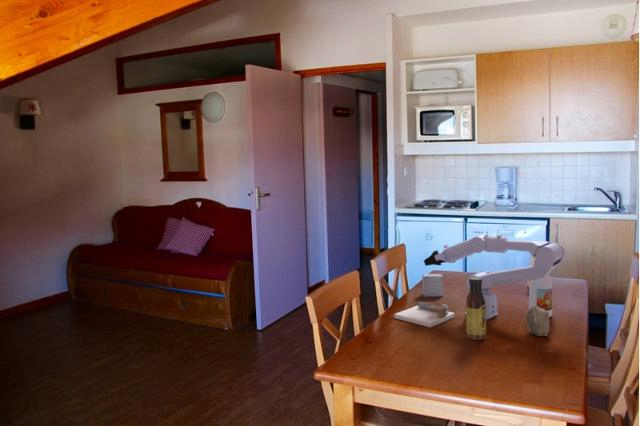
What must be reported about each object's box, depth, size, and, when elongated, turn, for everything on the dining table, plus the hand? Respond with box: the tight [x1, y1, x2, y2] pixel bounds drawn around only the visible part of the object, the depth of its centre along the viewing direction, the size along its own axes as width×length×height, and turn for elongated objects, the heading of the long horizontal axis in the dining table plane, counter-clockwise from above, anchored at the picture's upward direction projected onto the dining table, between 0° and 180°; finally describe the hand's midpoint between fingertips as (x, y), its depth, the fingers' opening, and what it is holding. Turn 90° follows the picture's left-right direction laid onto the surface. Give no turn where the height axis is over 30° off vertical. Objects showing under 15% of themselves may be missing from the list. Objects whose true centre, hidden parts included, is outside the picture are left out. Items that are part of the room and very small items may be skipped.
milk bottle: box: [528, 262, 553, 318], centre depth 203 cm, size 8×8×20 cm
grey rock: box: [525, 306, 550, 337], centre depth 185 cm, size 9×8×10 cm
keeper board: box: [394, 304, 456, 328], centre depth 206 cm, size 16×15×5 cm
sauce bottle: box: [465, 277, 487, 341], centre depth 183 cm, size 7×6×20 cm
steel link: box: [417, 301, 449, 314], centre depth 209 cm, size 13×3×3 cm, turn 43°
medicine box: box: [422, 273, 444, 298], centre depth 234 cm, size 8×4×9 cm, turn 84°
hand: (430, 262), depth 219 cm, fingers open, 7 cm apart
